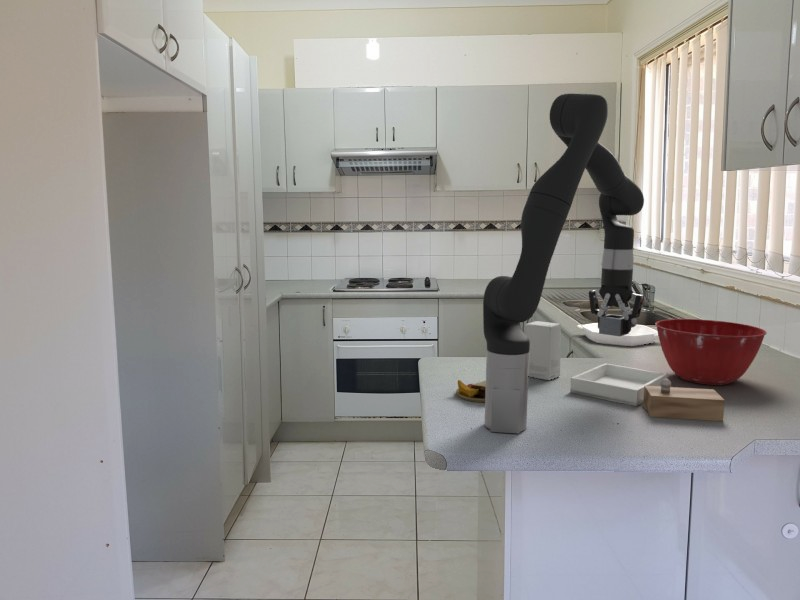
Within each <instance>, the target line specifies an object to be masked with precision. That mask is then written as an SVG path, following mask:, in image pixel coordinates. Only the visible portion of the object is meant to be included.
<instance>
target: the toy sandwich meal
mask: <svg viewBox="0 0 800 600" xmlns="http://www.w3.org/2000/svg"><path fill="white" fill-rule="evenodd" d="M485 390H486V380H485V381H480V382H477V383H468V384H465V383H464V382H463V381H462V380H460V379H458V380H457V389H456V390H455V393H456V394H457V396H458V397H459V398H460V399H463V400H464V401H468V400H469V402H475V403H485Z"/></svg>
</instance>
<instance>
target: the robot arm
mask: <svg viewBox="0 0 800 600" xmlns="http://www.w3.org/2000/svg"><path fill="white" fill-rule="evenodd" d="M608 105H609V104H608V101H607V99H606V97H604V96H603V95H600V94H596V93H595V94H594V93H563V94H560V95H558V96H557V97H555V99H554V101H552V103H551V106H550V109H549V110H550V111H549V124H550V126H551V129H552V130H553V132H554V133H555V134H556V135H557V137H558V138H559V139H560V140H561V141H562V142H563V143H564V145H566V147H567V148H566V149H565V151H564V153H563V154H562V155H561V157H559V159H557V161H556V162H554V163H553V164H552V165H551V166H550V167H549V168H548V169H547V170H546V171H544V173H543V174H542V175H541V176H540V177H539V178H538V179H537V180H536V181H535V182H534V184H533V185H532V187H531V188H530V191H529V193H528V196H527V199H526V202H525V204H524V208H523V210H522V213H521V219H520V230H521V231H520V233H521V251H520V255H519V259H518V261H517V265H516V268H515V270H514V272H513V274H512V276H507V275H500V276H496V277H494V278H493V279H491V280H490V281H489V282H488V284H487V285H486V288H485V289H484V295H483V300H482V307H483V308H482V311H483V313H482V315H483V317H482V318H483V319H482V320H483V321H482V322H483V325H482V327H483V335H484V339H485V341H486V360H485V361H486V362H485V365H486V366H485V367H486V368H485V381H486V390H485V402H484V427H485V428H487V429H488V430H489V431H490V432H491V433H506V434H520V432H524V431H525V430H526V429H527V425H528V423H527V422H528V421H527V419H528V397H529V396H528V395H529V377H528V375H529V351H530V341H529V338H528V337H527V336H526V335H525V332H524V331H523V329H522V326H521V323H524V322H527V321H528V320H529V319H531V318H532V317H533V315H534V314H535V313H536V311H537V309H538V307H539V303H540V301H541V298H542V295H543V290H544V286H545V282H546V278H547V275H548V273H549V267H550V264H551V260H552V258H553V255H554V252H555V250H556V246H557V245H558V241H559V238H560V235H561V232H562V231H563V228H564V225H565V223H566V221H567V218H568V216H569V213H570V211H571V207H572V204H573V201H574V198H575V195H576V192H577V190H578V187H579V185H580V182H581V179H582V177H583V175H584V173H585V170H586V171H587V173H588V174H589V177H590V178H591V180H592V182H593V183H594V186H595V188H596V190H598V192H599V193H600V195H599V197H598V207H599V212H600V216H601V221H602V225H603V226H602V227H603V231H604V236H603V237H604V238H603V239H604V241H603V252H602V259H601V275H600V276H601V277H600V278H601V279H600V285H601V286H600V288H599V289H598V290H596V289H593V290H589V291H588V299H589V307H590V313H591V314H595V315H596V316H597V323H598V329H599V322H600V316H604V315H607V312H608V310H609V309H610V308H611V307H616V308H619V310H620V312H621V313H622V316H624V319H625V320H624V324H623V334H625V335H626V334H628V333H629V332H630V331H631V322H632V319H633V318H635V319H637V318H639V317H640V316H641V311H642V307H643V303H644V299H645V295H644V294H642V293H641V294H638V293H634V291H633V288H632V287H633V275H634V260H635V259H634V239H635V229H634V227H632V226H630V225H627V224H623V223H621V222H619V220H618V217H617V216H635V215H638V213H640V212H641V211H642V210H643V207H644V204H645V198H644V194H643V192H642V190H641V188H640V187H639V185H637V183H635V182H634V181H633V180H632V179H631V178H630V177H629V176H628V175H626V174H625V172H624V170H623V168H622V166H621V164H620V162H619V161H618V159H617V158H616V156H615V155H614V154H613V153H612V152H611V151H610V150H609V149H608V148H607V147H605V146H604V145H603V144H601V142H599V140H600V139H601V136H602V134H603V131H604V128H605V127H606V124H607V120H608V115H609V106H608ZM599 297H601V299H602V302H601V305H599V304H600V303H599ZM631 298H632V302H633V307H632V311H631V306H630V303H629V302H630V300H631Z"/></svg>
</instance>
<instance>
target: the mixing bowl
mask: <svg viewBox="0 0 800 600" xmlns="http://www.w3.org/2000/svg"><path fill="white" fill-rule="evenodd" d="M655 326H656V331H657V332H658V336H657V337H658V340H659V344H660V347H661V351H662V353H663V355H664V359H665V361H666V362H667V365H668V366H669V368H670V369H671V371H673V373H675V375H677V376H678V377H679V378H680V379H682V380H683V381H687V382H690V383H696V384H699V385H700V384H702V385H709V386H710V385H712V386H723V385H725V386H726V385H728V384H731V383H732V382H735V381H737V380H739V379H740V378H741V377H743V375H744V374H745V373H746V372H747V370H748V369H749V368H750V366H751V365H752V363H753V362H754V360H755V359H756V356H757V355H758V352H759V350H760V348H761V345H762V343H763V341H764V338H765V335H767V330H765V329H763V328H760V327H757V326H754V325H749V324H744V323H737V322H731V321H730V322H729V321H724V320H712V319H698V318H697V319H696V318H695V319H694V318H669V319H663V320H662V319H661V320H658V321H656V322H655Z"/></svg>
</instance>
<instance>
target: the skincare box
mask: <svg viewBox="0 0 800 600" xmlns="http://www.w3.org/2000/svg"><path fill="white" fill-rule="evenodd" d="M524 328H525V332H524V333H525V335H526V336H527V337H528V338H529V341H530V351H529V375H528V376H529V377H528V378H533V377H534V378H535V379H538V380H539V379H540V380H544V381H551V379H552V380H554V378H555V379H557V377H558V378H559V376H560V377H561V347H562V346H561V344H562V343H561V342H562V341H561V337H562V335H561V333H562V330H561V329H562V324H561V323H557V322H547V321H540V320H539V321H538V320H535V321H532V322H528V323H525V327H524Z"/></svg>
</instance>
